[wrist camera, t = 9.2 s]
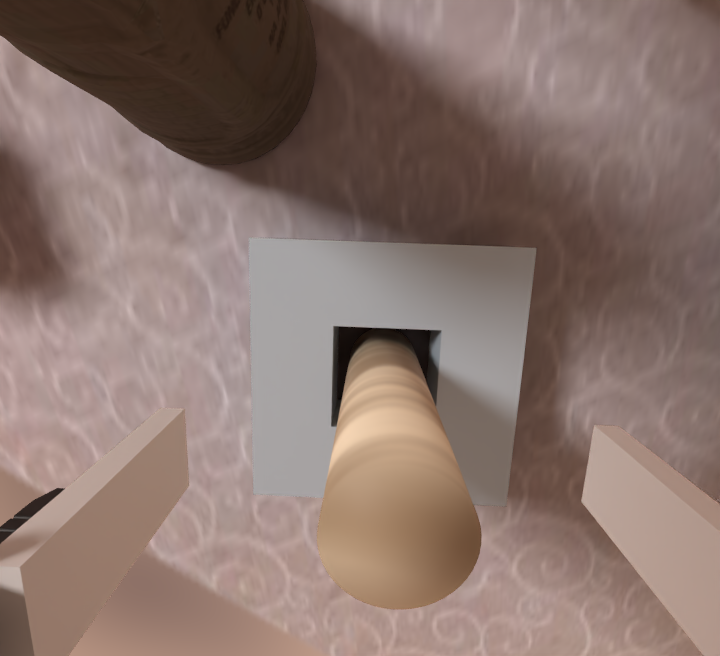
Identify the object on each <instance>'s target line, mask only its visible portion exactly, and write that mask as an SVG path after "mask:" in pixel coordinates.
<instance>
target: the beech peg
mask: <svg viewBox="0 0 720 656" xmlns="http://www.w3.org/2000/svg"><path fill="white" fill-rule="evenodd" d="M317 545H318V550H319V555H320V558H321V560H322V563H323V565H324V567H325V569H326V571H327V572H328V574H329V575H330V577H331V578H332V579H333V580H334V581H335V583H336V584H337V585H338V586H339V587H340V588H342V589H343V590H344V591H345V592H346V593H348V594H349V595H351V596H353V597H354V598H356V599H358V600H360V601H362V602H364V603H367V604H370V605H373V606H377V607H381V608H387V609H412V608H418V607H422V606H426V605H429V604H432V603H435V602H437V601H439V600H441V599H443V598H445V597H446V596H448V595H449V594H451V593H452V592H454V591H455V590H456V589H457V588H458V587H459V586H460V585H461V584H462V583H463V582H464V581H465V580H466V579H467V578H468V576H469V575H470V573H471V572H472V570H473V568H474V566H475V564H476V562H477V559H478V556H479V553H480V547H481V528H480V523H479V519H478V516H477V513H476V510H475V508H474V505H473V503H472V500H471V497H470V495H469V492H468V489H467V487H466V484H465V482H464V479H463V476H462V474H461V471H460V469H459V466H458V463H457V461H456V458H455V456H454V453H453V450H452V448H451V445H450V442H449V440H448V437H447V435H446V432H445V429H444V427H443V424H442V422H441V419H440V416H439V414H438V411H437V409H436V406H435V403H434V401H433V398H432V395H431V393H430V390H429V388H428V385H427V382H426V380H425V377H424V375H423V372H422V369H421V367H420V364H419V362H418V359H417V356H416V354H415V351H414V348H413V346H412V344H411V343H410V341H409V340H408V339H407V337H405V336H404V335H403V334H402V333H400V332H399V331H397V330H394V329H391V328H375V329H371V330H369V331H367V332H365V333H364V334H362V335H361V336H360V337H359V338H358V339H357V340H356V342H355V343H354V345H353V347H352V350H351V354H350V359H349V364H348V369H347V375H346V380H345V385H344V391H343V396H342V401H341V407H340V412H339V417H338V422H337V428H336V433H335V438H334V444H333V449H332V454H331V460H330V465H329V470H328V475H327V481H326V486H325V491H324V497H323V502H322V507H321V513H320V518H319V523H318V530H317Z"/></svg>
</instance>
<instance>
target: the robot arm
mask: <svg viewBox="0 0 720 656" xmlns="http://www.w3.org/2000/svg"><path fill="white" fill-rule="evenodd" d="M188 486H189V474H188V458H187V441H186V425H185V409H180V408H160V409H159V410H158V411H156V412H155V413H154V414H153V415H152V416H151V417H149V418H148V419H147V420H146V421H145V422H143V423H142V424H141V425H140V426H139V427H138V428H136V429H135V430H134V431H133V432H132V433H130V434H129V435H128V436H127V437H126V438H125V439H123V440H122V441H121V442H120V443H119V444H117V445H116V446H115V447H114V448H113V449H112V450H110V451H109V452H108V453H107V454H106V455H105V456H103V457H102V458H101V459H100V460H99V461H97V462H96V463H95V464H94V465H93V466H92V467H90V468H89V469H88V470H87V471H86V472H84V473H83V474H82V475H81V476H80V477H79V478H77V479H76V480H75V481H74V482H73V483H71V484H70V485H69V486H68V487H67V488H66V489H63V488H57V489H55V490H53V491H51V492H49V493H47V494H45V495H43V496H41V497H39V498H37V499H35V500H34V501H32V502H31V503H29V504H28V505H27V506H26V507H25V508H23V509H22V510H21V511H19V512H18V513H17V514H16V515H15V516H14V518H13V519H10V520H8V521H7V522H6V523H4V524H3V525H2V526H1V527H0V656H69V654H70V653H71V651H72V650H73V649H74V647H75V646H76V645H77V643H78V642H79V640H80V639H81V638H82V636H83V634H84V633H85V632H86V630H87V629H88V628H89V626H90V625H91V623H92V622H93V620H94V619H95V618H96V616H97V615H98V613H99V612H100V611H101V609H102V608H103V606H104V605H105V603H106V602H107V601H108V599H109V598H110V596H111V595H112V594H113V592H114V591H115V589H116V588H117V586H118V585H119V584H120V582H121V581H122V579H123V578H124V577H125V575H126V574H127V572H128V571H129V570H130V568H131V567H132V565H133V564H134V563H135V561H136V560H137V558H138V557H139V555H140V554H141V553H142V551H143V550H144V548H145V547H146V546H147V544H148V543H149V541H150V540H151V538H152V537H153V536H154V534H155V533H156V531H157V530H158V529H159V527H160V526H161V524H162V523H163V521H164V520H165V519H166V517H167V516H168V514H169V513H170V512H171V510H172V509H173V507H174V506H175V505H176V503H177V502H178V500H179V499H180V497H181V496H182V495H183V493H184V492H185V490H186V489H187V488H188ZM581 502H582V503H583V504H584V506H585V507H586V508H587V509H588V511H589V512H590V513H591V514H592V516H593V517H594V518H595V519H596V521H597V522H598V523H599V524H600V526H601V527H602V528H603V530H604V531H605V532H606V533H607V535H608V536H609V537H610V538H611V540H612V541H613V542H614V543H615V545H616V546H617V547H618V548H619V550H620V551H621V552H622V553H623V555H624V556H625V557H626V559H627V560H628V561H629V562H630V564H631V565H632V566H633V567H634V569H635V570H636V571H637V572H638V574H639V575H640V576H641V577H642V579H643V580H644V581H645V582H646V584H647V585H648V586H649V588H650V589H651V590H652V591H653V593H654V594H655V595H656V596H657V598H658V599H659V600H660V601H661V603H662V604H663V605H664V606H665V608H666V609H667V610H668V612H669V613H670V614H671V615H672V617H673V618H674V619H675V620H676V622H677V623H678V624H679V625H680V627H681V628H682V629H683V630H684V632H685V633H686V634H687V635H688V637H689V638H690V639H691V641H692V642H693V643H694V644H695V646H696V647H697V648H698V649H699V651H700V652H701V653H702V654H703V656H720V504H719V503H717V502H716V501H715V500H714V499H712V498H711V497H710V496H708V495H707V494H706V493H704V492H703V491H702V490H701V489H699V488H698V487H697V486H695V485H694V484H693V483H692V482H690V481H689V480H688V479H686V478H685V477H684V476H682V475H681V474H680V473H679V472H677V471H676V470H675V469H673V468H672V467H671V466H670V465H668V464H667V463H666V462H664V461H663V460H662V459H660V458H659V457H658V456H657V455H655V454H654V453H653V452H651V451H650V450H649V449H648V448H646V447H645V446H644V445H642V444H641V443H640V442H639V441H637V440H636V439H635V438H633V437H632V436H631V435H629V434H628V433H627V432H626V431H624V430H623V429H622V428H620V427H619V426H607V425H594V429H593V435H592V441H591V447H590V453H589V459H588V465H587V471H586V477H585V483H584V489H583V495H582V500H581Z"/></svg>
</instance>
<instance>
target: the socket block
mask: <svg viewBox="0 0 720 656" xmlns="http://www.w3.org/2000/svg"><path fill="white" fill-rule="evenodd" d="M536 251H537V248H528V247H507V246H479V245H451V244H424V243H396V242H368V241H340V240H312V239H284V238H249V281H250V336H251V391H252V446H253V494H254V495H275V496H295V497H316V498H323V497H324V491H325V486H326V481H327V475H328V470H329V465H330V460H331V454H332V449H333V444H334V438H335V433H336V428H337V422H338V417H339V412H340V407H341V401H342V400H341V399H337V387H338V347H339V326H344V327H369V328H394V329H419V330H430V341H429V356H428V370H427V385H428V388H429V390H430V393H431V395H432V398H433V401H434V403H435V406H436V409H437V411H438V414H439V416H440V419H441V422H442V424H443V427H444V429H445V432H446V435H447V437H448V440H449V442H450V445H451V448H452V450H453V453H454V456H455V458H456V461H457V463H458V466H459V469H460V471H461V474H462V476H463V479H464V482H465V484H466V487H467V489H468V492H469V495H470V497H471V500H472V503H473V505H481V506H502V507H506V505H507V497H508V488H509V480H510V471H511V463H512V454H513V446H514V437H515V429H516V420H517V412H518V403H519V395H520V386H521V378H522V369H523V361H524V352H525V344H526V335H527V327H528V318H529V310H530V302H531V293H532V285H533V276H534V268H535V259H536Z"/></svg>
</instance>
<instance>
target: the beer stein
mask: <svg viewBox="0 0 720 656" xmlns="http://www.w3.org/2000/svg"><path fill="white" fill-rule="evenodd" d="M0 36H2V37H4V38H5V39H7V40H8V41H9V42H10V43H11V44H12V45H13V46H15V47H16V48H17V49H18V50H19V51H20V52H22V53H23V54H25V55H26V56H28V57H30V58H31V59H33V60H34V61H36V62H37V63H39V64H40V65H42V66H43V67H45V68H47V69H48V70H50V71H51V72H53V73H55V74H57V75H58V76H60V77H62V78H63V79H65V80H67V81H69V82H70V83H72V84H74V85H76V86H77V87H79V88H81V89H83V90H84V91H86V92H88V93H90V94H91V95H93V96H95V97H97V98H98V99H100V100H102V101H104V102H105V103H107V104H109V105H110V106H112V107H113V108H114V109H115V110H116V111H117V112H119V113H120V114H121V115H122V116H123V117H124V118H126V119H127V120H128V121H129V122H131V123H132V124H133V125H134V126H135V127H137V128H138V129H139V130H140V131H142V132H143V133H145V134H147V135H149V136H150V137H152V138H154V139H156V140H158V141H159V142H161V143H162V144H163V145H164V146H166V147H167V148H169V149H171V150H172V151H174V152H176V153H178V154H180V155H182V156H184V157H187V158H189V159H193V160H196V161H200V162H203V163H207V164H221V165H225V164H236V163H241V162H245V161H248V160H251V159H255V158H258V157H259V156H261V155H263V154H264V153H266V152H268V151H270V150H271V149H273V148H274V147H276V146H277V145H278V144H279V143H280V142H281V141H282V140H283V139H284V138H285V137H287V136H288V135H289V134H290V132H291V131H292V130H293V128H294V127H295V125H296V124H297V123H298V121H299V120H300V118H301V116H302V114H303V113H304V111H305V108H306V106H307V103H308V100H309V98H310V95H311V92H312V88H313V82H314V76H315V70H316V51H315V40H314V34H313V29H312V25H311V22H310V18H309V15H308V12H307V9H306V6H305V4H304V2H303V0H0Z"/></svg>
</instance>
